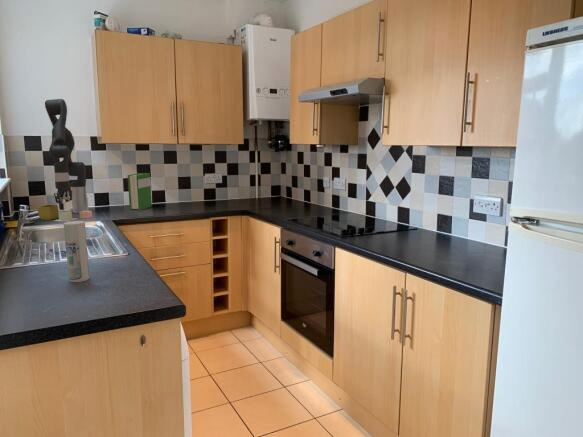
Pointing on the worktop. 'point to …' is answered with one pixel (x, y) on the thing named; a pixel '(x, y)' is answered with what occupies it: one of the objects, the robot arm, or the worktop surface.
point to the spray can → (76, 251)
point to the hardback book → (139, 191)
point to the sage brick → (65, 215)
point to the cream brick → (65, 206)
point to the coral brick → (85, 214)
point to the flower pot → (48, 212)
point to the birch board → (66, 220)
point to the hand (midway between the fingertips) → (64, 208)
